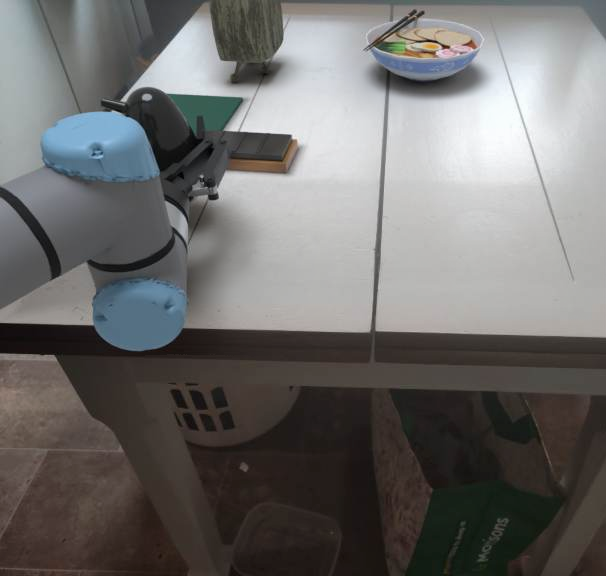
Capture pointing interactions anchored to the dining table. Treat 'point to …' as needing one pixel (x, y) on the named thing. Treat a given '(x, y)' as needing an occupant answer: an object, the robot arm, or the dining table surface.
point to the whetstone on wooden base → (258, 150)
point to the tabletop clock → (247, 31)
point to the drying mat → (207, 109)
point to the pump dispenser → (158, 124)
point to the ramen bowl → (423, 47)
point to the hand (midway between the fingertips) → (161, 128)
